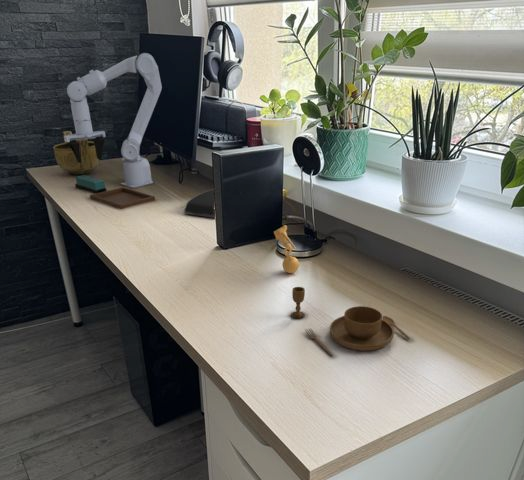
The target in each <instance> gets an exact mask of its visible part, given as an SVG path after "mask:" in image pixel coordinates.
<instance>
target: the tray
mask: <svg viewBox="0 0 524 480" xmlns="http://www.w3.org/2000/svg"><path fill="white" fill-rule="evenodd" d="M89 199H91V200H94V201H96V202H99V203H102V204H105V205H107V206H111V207H114V208H116V209H119V210H124V209H127V208H132V207H135V206H138V205H143V204H146V203H149V202H153V201H156V197H155V196H154V195H152V194H148V193H145V192H141V191H139V190H134V189H131V188H129V187H126V186H125V187H124V186H122V187H117V188H113V189H109V190H106V191H104V192H100V193H91V194H89Z"/></svg>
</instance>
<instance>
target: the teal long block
mask: <svg viewBox="0 0 524 480" xmlns="http://www.w3.org/2000/svg"><path fill="white" fill-rule="evenodd" d="M75 182H76V183H75V184H74V185H75V188H76V189H79V190H83V191H87V192H88V193H89V192H90V193H91V194H96V193H100V192H104V191H107V188H106V185H105V181H104V180H103V179H99V178H97V177H92V176H89V175H87V174H83V175H77V176H75Z"/></svg>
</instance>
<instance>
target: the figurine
mask: <svg viewBox="0 0 524 480" xmlns="http://www.w3.org/2000/svg"><path fill="white" fill-rule="evenodd" d="M287 230H288V226H287V225H286V224H284V225H282V226H281V227H280V228H278V229H276V230H274V231H273V235H274V237H275V240H276V241H279V242H280V244H281V246H283V247H284V249H283V255H285V258H284V259H283V261H282V263H281V264H282V269H283V271H284V272H286V273H288V274H294V273H296V272H297V271H298V270H299V267H300V262H299V260H298V258H297V257H295V256H291V255H290V254H291V253H292V251H293V249H294V250H295V252H296V251H297V252H298V248H297V247H296V246H295V244H294V243H293V242H292V241H291V239H290V238H289V236H288V233H287ZM287 250H288V251H287ZM286 252H287V253H286Z"/></svg>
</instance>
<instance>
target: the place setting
mask: <svg viewBox="0 0 524 480" xmlns="http://www.w3.org/2000/svg"><path fill="white" fill-rule="evenodd" d="M291 293H292V295H291V296H292V300H293V302H294V303H295V305H296V306H295V311H293V312H291V313H290V316H291V318H293V319H298V320H300V319H303V318H305V316H306V314H305V313H304V312H303V311H301V310H302V308H301V303H303V302H304V300H305V295H306V289H305V288H304V287H302V286H295V287H292V291H291ZM394 328H395V330H397V331H398V332H399V333H400V334H401V335H402V336H403V337H404V338H406V339H407V340H411V337H409V336H408V334H406V332H405V331H403V330H402V329H401V328H399V327H398V326H397V325H396V324H395V321H394V320H393V318H391V317H390V316H387V315H383V314H382V313H381V312H380V311H379V310H377V308H373V307H370V306H363V305H358V306H357V305H356V306H352V307H350V308H348V309H346V310H345V312H344V315H342V316H339V317H337V318H336V319H334V320H333V321H332V322H331V323H330V326H329V333H330V336H331V338H332V339H333V340H334V342H336V343H337V344H339V345H341V346H342V347H345V348H348V349H350V350H355V351H362V352H364V351H365V352H367V351H369V352H370V351H375V350H380V349H381V348H385V347H386V346H388V345H389V344H390V343H391V342H392V341H393V339H394V335H395V330H394ZM304 331H305V332H306V335H308V337H309V339H311V340H315V342H317V343H318V344H319V346H321V347H322V349H323V350H324V351H325V352H326V353H327V354H328V355H330V356H331V357H334V355H333V353H332V352H331V351H330V350H329V349H328V348H327V346H325V344H324V343H322V341H320V340H319V339H318V338H317V335H316V334H315V332H314V331H313V329H312V328H311V327H309V328H305V329H304Z"/></svg>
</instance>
